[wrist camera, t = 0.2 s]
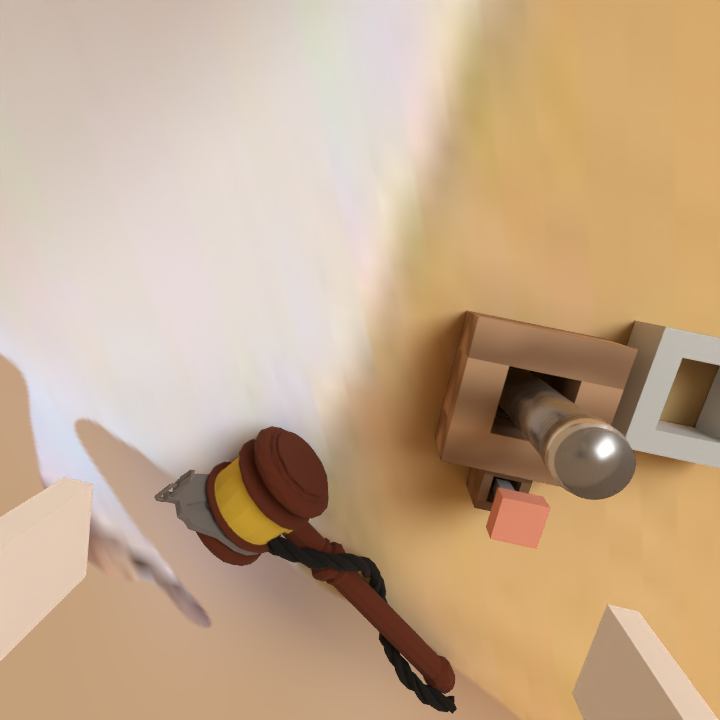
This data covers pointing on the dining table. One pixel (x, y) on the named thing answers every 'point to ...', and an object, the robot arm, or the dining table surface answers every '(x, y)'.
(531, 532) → the key
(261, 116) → the dining table surface
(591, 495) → the peg
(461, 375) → the socket block
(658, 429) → the grey square frame
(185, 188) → the dining table surface
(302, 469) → the gavel
